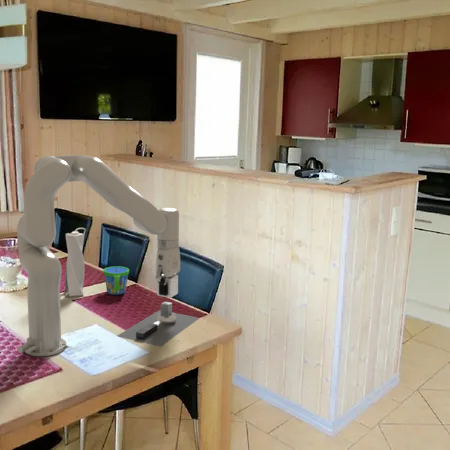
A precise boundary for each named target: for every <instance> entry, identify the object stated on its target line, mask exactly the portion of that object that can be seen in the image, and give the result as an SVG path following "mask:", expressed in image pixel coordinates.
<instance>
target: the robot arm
mask: <svg viewBox="0 0 450 450" xmlns="http://www.w3.org/2000/svg"><path fill="white" fill-rule="evenodd" d="M69 182H71V183H72V182H83V183H85V184H86V185H88V186H89V188H91V189H92V190H93V191H94V192H95V193H96V194H98V195H99V196H100V197H101V198H103V200H105V201H106V202H107V203H108V205H111V206H112V207H113V208H115V209H116V210H118V211H121V212H122V213H125V214H126V215H128V216H129V217H131V218H132V222H133V224H134V225H135V227H137V228H138V229H139V230H141V231H143V232H146V233H148V234H151V235H153V236H156V248H157V251H156V260H155V261H156V262H155V272H156V274H155V280H156V281H158V284H159V295H164V296H167V295H168V285H166V284H167V278H168V277H171V276H173V275H175V274H177V275H178V273H180V272H181V253H180V252H181V251H180V246H179V244H180V243H179V242H180V241H179V240H180V235H179V234H180V212H179V210H178V209H177V208H173V207H161V208H157V207H156V206H154V204H152V202H150V201H148V200H147V199H146V198H145V197H144V196H143V195H142V194H140V193H139V192H137V190H135V189H134V188H133V187H132V186H130V185H129V184H128V183H126V181H125V180H124V179H123V178H121V177H120V176H118V174H117V173H115V171H113V170H112V168H110V167H109V166H108V165H107V164H105V163H104V161H102V160H101V159H99V158H98V157H95V156H91V155H87V154H86V155H85V154H84V155H83V154H81V155H78V154H77V155H76V154H75V155H45V156H44V155H43V156H42V157H40V158H38V159H37V161H35V163H34V165H33V174H32V176H31V177H30V178H29V179H28V181H27V184H26V186H25V189H24V192H23V214H22V215H21V217H19V220H18V221H17V226H16V227H17V228H16V234H17V248H18V258H19V263H20V266H21V268H22V269H23V270H24V271H25V273H26V274H27V276H28V279H27V280H28V282H27V295H26V297H27V299H26V300H27V313H28V314H27V317H28V320H27V321H28V322H27V323H28V337H27V338H26V342H25V343H24V344H22V345H20V346H18V347H17V352H18V353H20V354H22V353H24V352H25V354H27V355H28V356H32V357H48V356H49V357H51V356H54V355H57V354H59V353H62V352H63V351H64V350H65V349H66V348H67V341H66V340H65V339H63V337H62V324H61V323H62V322H61V321H62V320H61V318H62V317H61V279H62V264H61V261H60V260H59V258H58V256H57V255H56V254H54V252H52V251H51V250H50V245H51V244H53V243H54V241H55V239H56V235H57V228H56V216H55V214H56V213H55V199H56V195H57V193H58V191H59V190H60V189H61V187H63V186H64V185H66V184H68V183H69ZM162 274H164V276H162ZM162 277H163V278H164V280H163V279H162Z"/></svg>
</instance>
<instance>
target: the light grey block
mask: <svg viewBox="0 0 450 450" xmlns="http://www.w3.org/2000/svg"><path fill="white" fill-rule="evenodd" d="M162 276H164V274H162ZM162 279H163V280H164V278H163V277H162ZM156 281H157V280H156ZM156 284H157V285H156V291H157V292H156V296H159V297H162V298H163V297H164V298H170V299H171V298H173V297H174V296H176V295H178V294H179V274H178V273H177V274H175V275H173V276H171V277H168V278H167V284H166V285H168V295H167V296H164V295H159V284H158V281H157V282H156Z"/></svg>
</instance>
